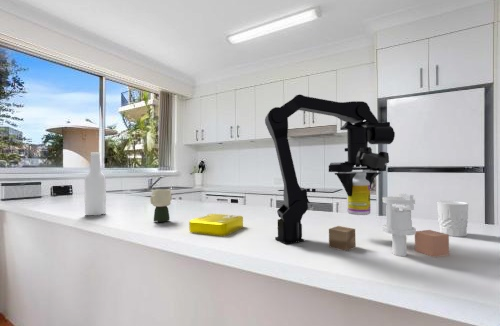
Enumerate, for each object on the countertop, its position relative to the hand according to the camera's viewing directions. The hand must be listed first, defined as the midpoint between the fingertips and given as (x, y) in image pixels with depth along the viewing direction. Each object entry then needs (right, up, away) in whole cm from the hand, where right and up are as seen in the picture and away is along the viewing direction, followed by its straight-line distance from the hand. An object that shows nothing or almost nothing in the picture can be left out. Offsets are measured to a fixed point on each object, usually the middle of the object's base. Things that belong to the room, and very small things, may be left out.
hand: (358, 195), depth 80 cm
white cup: (+31, -13, +3) cm, 34 cm away
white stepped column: (+4, -13, -15) cm, 20 cm away
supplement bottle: (0, -6, 0) cm, 6 cm away
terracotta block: (+13, -13, -14) cm, 23 cm away
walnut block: (-8, -13, -9) cm, 18 cm away
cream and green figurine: (-69, -14, +28) cm, 76 cm away
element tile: (-45, -14, +14) cm, 49 cm away
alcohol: (-108, -15, +47) cm, 119 cm away
